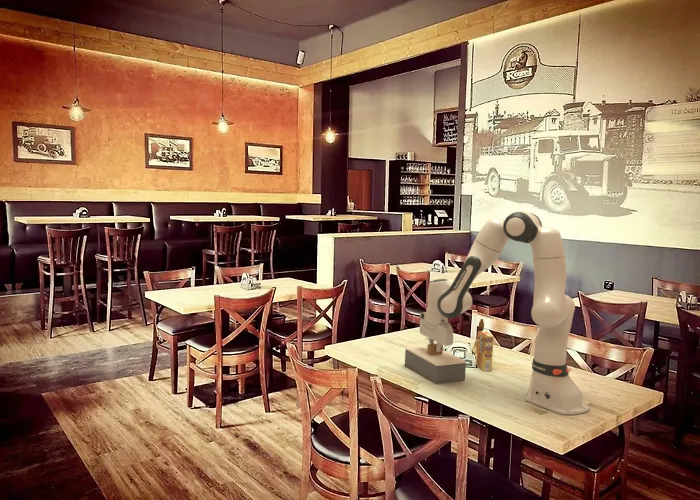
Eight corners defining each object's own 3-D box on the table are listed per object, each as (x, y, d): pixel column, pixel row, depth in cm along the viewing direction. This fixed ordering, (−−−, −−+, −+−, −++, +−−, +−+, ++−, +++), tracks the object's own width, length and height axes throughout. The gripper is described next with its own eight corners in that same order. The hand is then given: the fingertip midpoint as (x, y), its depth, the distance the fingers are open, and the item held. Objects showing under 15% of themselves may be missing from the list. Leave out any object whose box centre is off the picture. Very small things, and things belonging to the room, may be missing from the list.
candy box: (492, 371, 231) (494, 336, 229) (482, 371, 230) (485, 336, 228) (484, 364, 239) (486, 330, 238) (475, 364, 239) (477, 330, 237)
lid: (465, 363, 216) (466, 351, 216) (436, 366, 211) (437, 354, 210) (432, 346, 238) (433, 336, 238) (405, 349, 232) (406, 338, 232)
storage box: (464, 380, 217) (465, 363, 216) (435, 384, 211) (436, 367, 211) (432, 362, 239) (432, 347, 238) (404, 365, 233) (405, 349, 232)
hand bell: (478, 348, 265) (480, 316, 264) (491, 352, 258) (493, 320, 257) (466, 350, 260) (468, 318, 259) (479, 355, 254) (482, 321, 252)
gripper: (458, 323, 215) (456, 356, 216) (430, 312, 233) (428, 343, 235) (444, 324, 212) (442, 358, 213) (417, 312, 231) (415, 344, 232)
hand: (435, 350), depth 224 cm, fingers closed on lid, 2 cm apart
